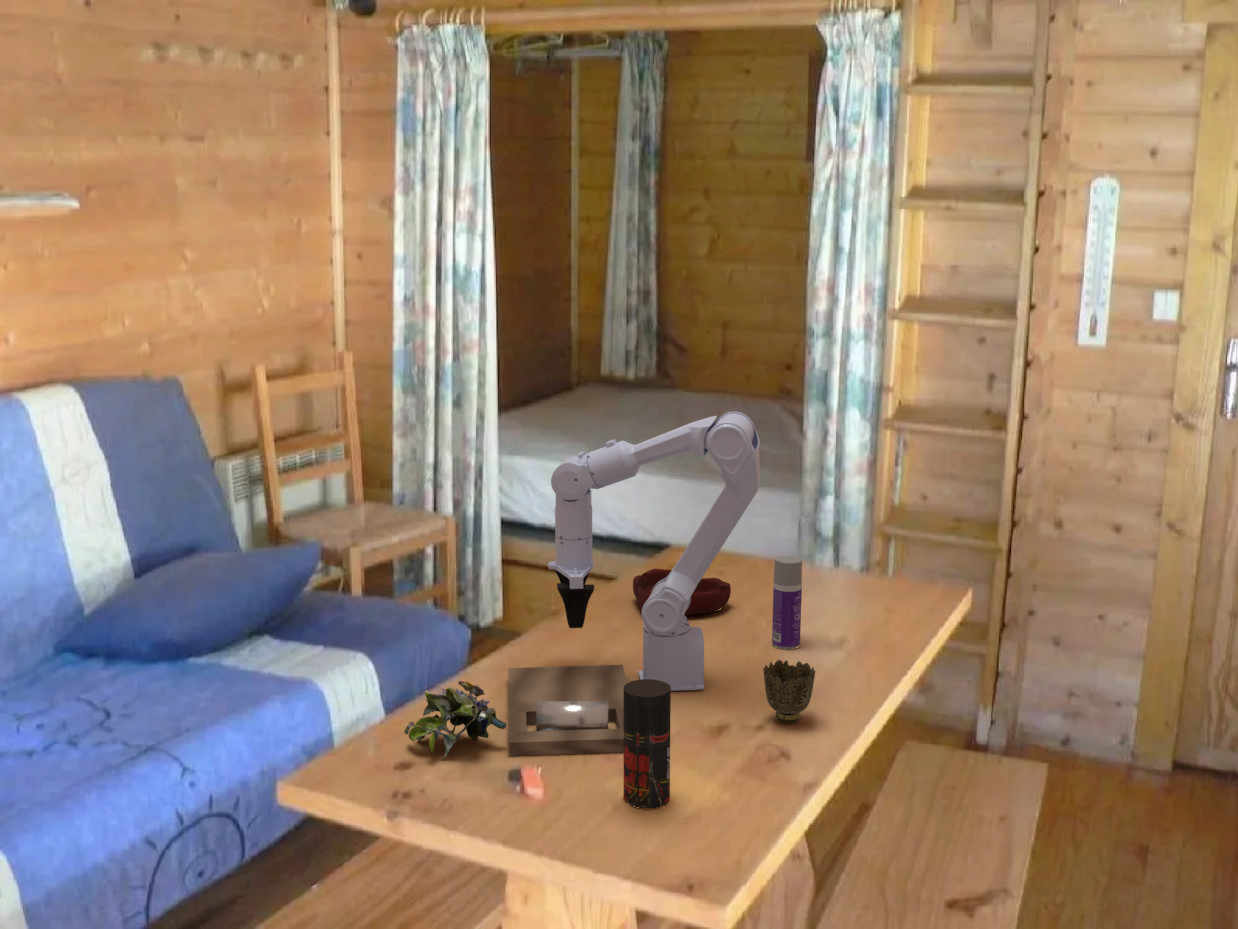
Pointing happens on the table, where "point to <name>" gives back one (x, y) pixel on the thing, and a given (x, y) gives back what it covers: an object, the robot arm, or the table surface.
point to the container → (787, 602)
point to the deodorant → (647, 743)
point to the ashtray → (703, 599)
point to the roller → (571, 715)
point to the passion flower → (454, 716)
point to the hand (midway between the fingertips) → (574, 619)
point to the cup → (788, 689)
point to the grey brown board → (564, 686)
